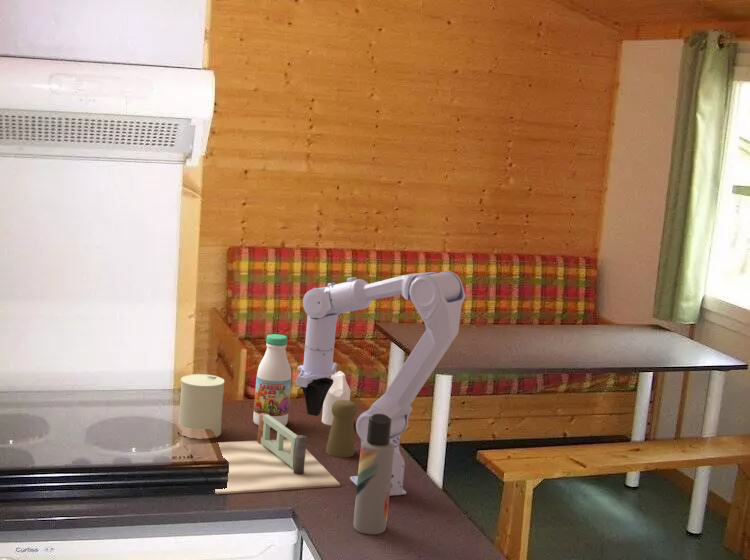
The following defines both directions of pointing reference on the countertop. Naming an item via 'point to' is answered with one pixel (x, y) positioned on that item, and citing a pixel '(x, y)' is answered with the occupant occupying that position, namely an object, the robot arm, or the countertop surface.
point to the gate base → (271, 467)
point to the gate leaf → (278, 439)
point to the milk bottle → (273, 381)
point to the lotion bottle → (374, 477)
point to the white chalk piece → (335, 396)
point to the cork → (342, 429)
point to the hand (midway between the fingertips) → (313, 414)
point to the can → (201, 402)
